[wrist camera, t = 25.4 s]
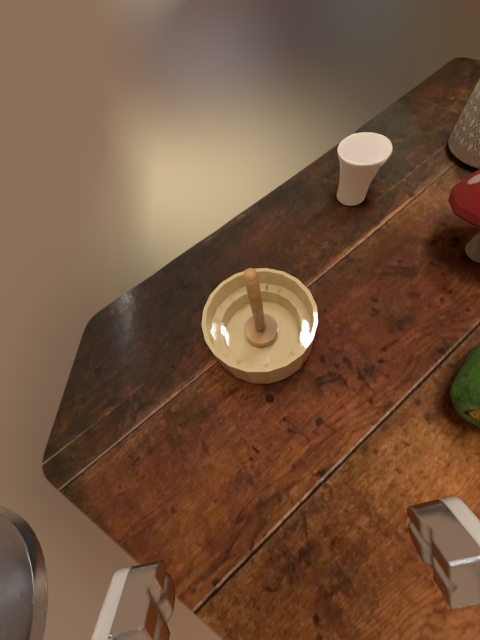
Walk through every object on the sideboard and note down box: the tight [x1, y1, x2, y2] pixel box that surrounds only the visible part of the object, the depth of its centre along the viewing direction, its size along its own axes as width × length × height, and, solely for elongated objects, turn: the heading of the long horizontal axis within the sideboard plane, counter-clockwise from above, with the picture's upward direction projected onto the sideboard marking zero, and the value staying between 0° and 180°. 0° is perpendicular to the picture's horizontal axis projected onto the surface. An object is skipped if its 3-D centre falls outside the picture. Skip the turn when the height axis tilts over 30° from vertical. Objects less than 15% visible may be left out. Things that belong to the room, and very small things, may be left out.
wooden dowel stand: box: [243, 268, 278, 348], centre depth 35 cm, size 5×5×17 cm
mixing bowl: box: [202, 268, 318, 384], centre depth 40 cm, size 16×16×7 cm
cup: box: [337, 132, 392, 206], centre depth 49 cm, size 9×9×10 cm
